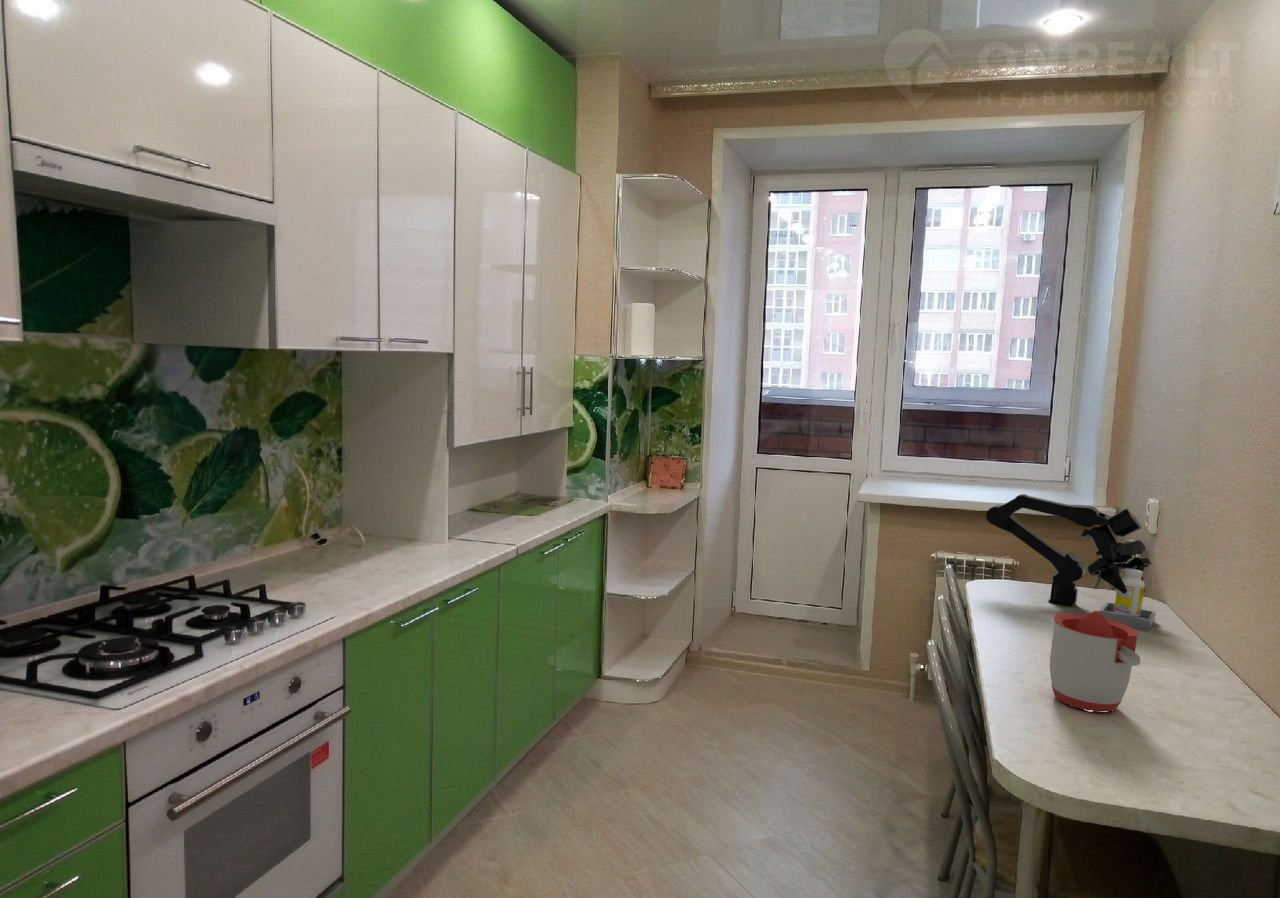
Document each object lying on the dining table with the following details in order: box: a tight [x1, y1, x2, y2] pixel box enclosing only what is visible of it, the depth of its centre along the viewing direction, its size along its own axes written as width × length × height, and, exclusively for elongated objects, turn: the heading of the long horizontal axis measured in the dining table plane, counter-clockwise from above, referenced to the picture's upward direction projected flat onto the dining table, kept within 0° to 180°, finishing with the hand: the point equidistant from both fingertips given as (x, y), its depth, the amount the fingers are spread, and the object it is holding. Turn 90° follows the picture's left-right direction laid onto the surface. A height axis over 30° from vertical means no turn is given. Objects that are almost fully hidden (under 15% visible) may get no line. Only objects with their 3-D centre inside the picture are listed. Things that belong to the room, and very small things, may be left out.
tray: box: [1098, 601, 1157, 633], centre depth 243 cm, size 13×13×3 cm
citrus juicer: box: [1049, 610, 1141, 712], centre depth 178 cm, size 16×17×20 cm
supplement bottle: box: [1114, 568, 1146, 617], centre depth 243 cm, size 7×7×13 cm
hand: (1134, 592), depth 241 cm, fingers closed on supplement bottle, 6 cm apart
